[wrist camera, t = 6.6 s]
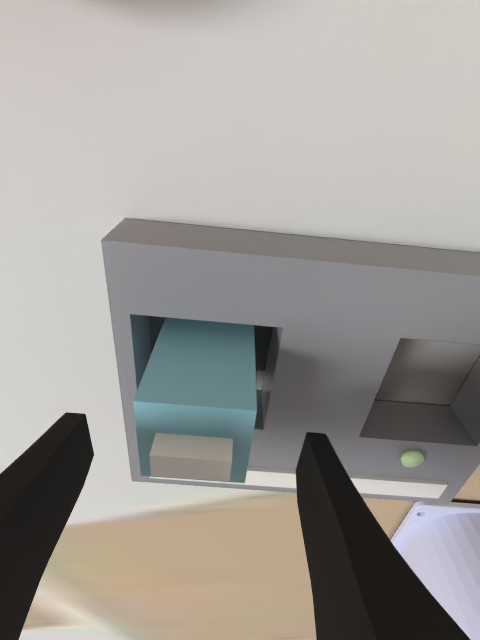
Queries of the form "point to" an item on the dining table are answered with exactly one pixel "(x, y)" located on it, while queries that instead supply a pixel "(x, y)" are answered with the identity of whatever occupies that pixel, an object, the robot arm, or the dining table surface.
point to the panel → (311, 345)
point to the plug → (198, 402)
